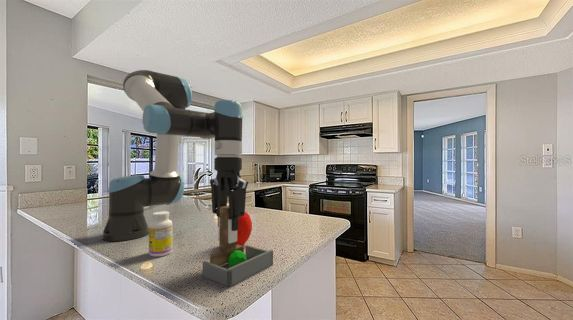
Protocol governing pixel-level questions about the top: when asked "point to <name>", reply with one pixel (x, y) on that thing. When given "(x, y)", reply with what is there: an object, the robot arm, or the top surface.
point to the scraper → (224, 240)
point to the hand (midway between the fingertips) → (227, 240)
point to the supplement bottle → (160, 235)
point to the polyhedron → (236, 258)
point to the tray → (239, 267)
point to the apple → (244, 229)
